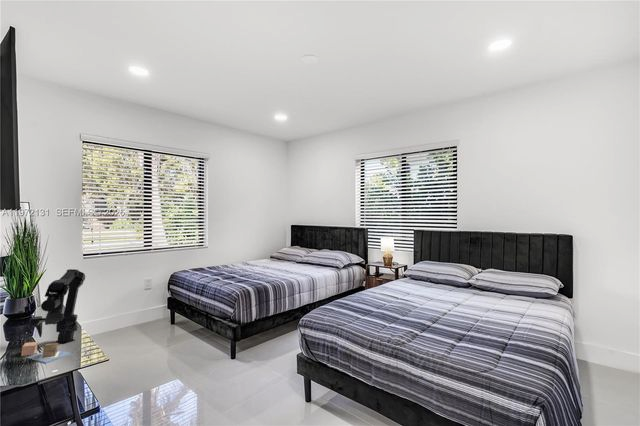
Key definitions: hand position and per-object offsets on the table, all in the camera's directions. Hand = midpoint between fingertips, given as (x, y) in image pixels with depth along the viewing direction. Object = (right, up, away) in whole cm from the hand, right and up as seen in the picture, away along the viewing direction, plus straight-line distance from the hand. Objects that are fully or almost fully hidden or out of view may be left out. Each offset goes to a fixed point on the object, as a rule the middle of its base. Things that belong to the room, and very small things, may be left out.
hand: (52, 336), depth 161 cm
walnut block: (-1, -10, 0) cm, 10 cm away
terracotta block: (-13, -9, +1) cm, 16 cm away
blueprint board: (-1, -10, 0) cm, 10 cm away
